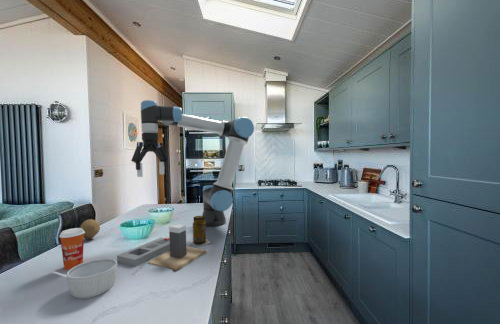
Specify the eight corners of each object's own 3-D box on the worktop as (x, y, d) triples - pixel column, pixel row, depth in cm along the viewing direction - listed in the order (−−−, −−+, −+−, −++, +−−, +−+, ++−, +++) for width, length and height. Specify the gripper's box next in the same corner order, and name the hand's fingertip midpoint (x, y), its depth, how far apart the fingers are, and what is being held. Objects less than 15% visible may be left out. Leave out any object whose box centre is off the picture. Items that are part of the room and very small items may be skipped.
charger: (177, 252, 100) (176, 224, 99) (186, 254, 97) (185, 225, 97) (170, 256, 96) (169, 226, 96) (179, 258, 94) (178, 228, 93)
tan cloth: (180, 247, 108) (180, 245, 108) (206, 252, 102) (206, 250, 102) (147, 264, 92) (147, 261, 92) (176, 271, 86) (176, 268, 86)
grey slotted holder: (160, 243, 113) (160, 236, 113) (177, 246, 109) (177, 239, 109) (117, 263, 93) (117, 254, 93) (135, 267, 89) (134, 258, 89)
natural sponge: (104, 237, 124) (103, 218, 123) (86, 243, 116) (85, 222, 116) (94, 235, 128) (93, 216, 128) (75, 240, 120) (74, 220, 120)
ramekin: (61, 306, 67) (60, 281, 67) (74, 283, 79) (73, 262, 79) (115, 294, 72) (114, 271, 72) (119, 274, 84) (119, 255, 84)
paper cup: (58, 274, 85) (56, 235, 85) (63, 265, 92) (61, 229, 92) (84, 269, 89) (83, 231, 88) (87, 261, 96) (86, 226, 95)
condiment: (202, 238, 120) (202, 214, 119) (211, 242, 113) (210, 217, 113) (189, 241, 115) (188, 216, 115) (197, 246, 109) (196, 220, 108)
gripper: (163, 134, 132) (164, 173, 133) (121, 131, 109) (123, 177, 110) (173, 134, 129) (175, 173, 129) (133, 130, 106) (135, 178, 107)
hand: (151, 175), depth 120 cm, fingers open, 13 cm apart
